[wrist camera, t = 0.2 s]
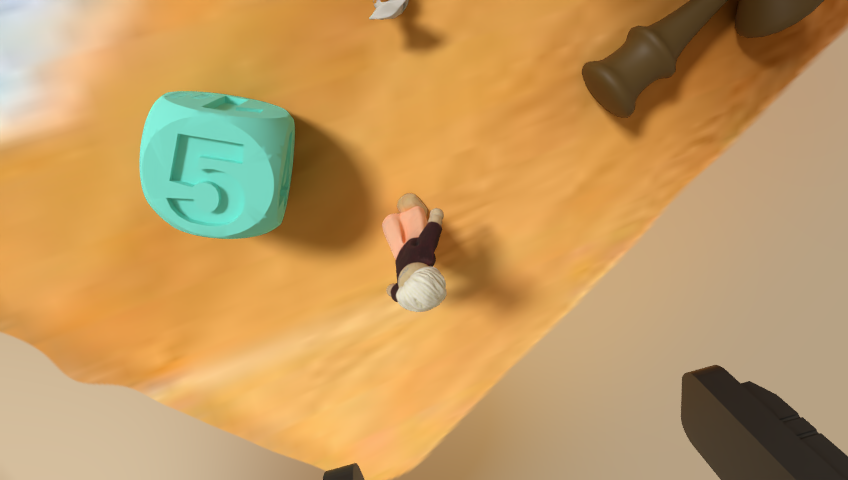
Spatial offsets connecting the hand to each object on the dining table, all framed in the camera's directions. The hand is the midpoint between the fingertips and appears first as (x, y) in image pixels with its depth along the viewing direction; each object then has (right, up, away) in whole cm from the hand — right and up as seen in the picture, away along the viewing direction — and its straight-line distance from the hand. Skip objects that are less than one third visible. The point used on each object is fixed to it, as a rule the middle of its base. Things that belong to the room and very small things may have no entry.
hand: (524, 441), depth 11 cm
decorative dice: (-17, +12, +24) cm, 32 cm away
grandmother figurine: (-4, +6, +29) cm, 30 cm away
